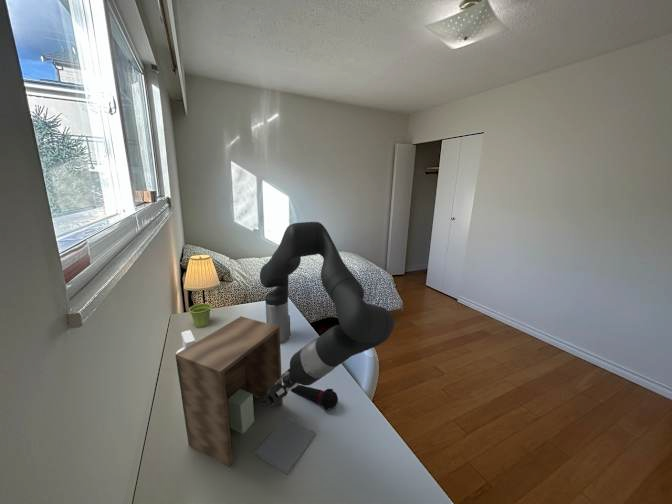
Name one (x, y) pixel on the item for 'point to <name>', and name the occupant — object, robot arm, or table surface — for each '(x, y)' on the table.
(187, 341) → the cylinder with rectangular tab
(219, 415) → the walnut cubby
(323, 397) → the microphone
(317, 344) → the robot arm
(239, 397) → the sage block
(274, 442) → the slate mat
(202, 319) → the plant pot
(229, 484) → the table surface
